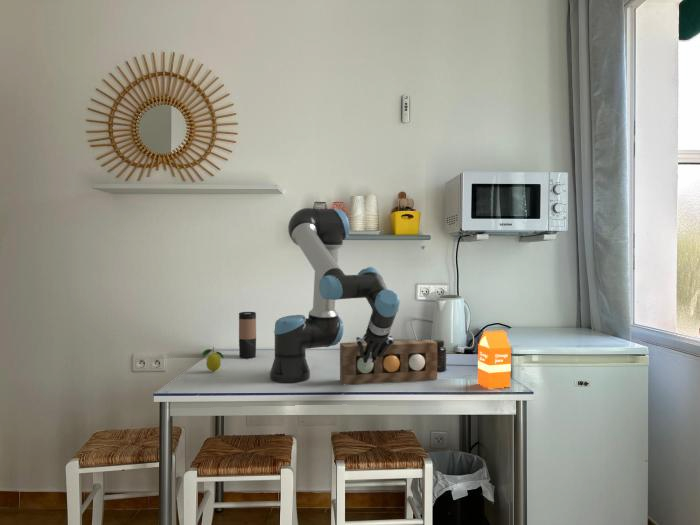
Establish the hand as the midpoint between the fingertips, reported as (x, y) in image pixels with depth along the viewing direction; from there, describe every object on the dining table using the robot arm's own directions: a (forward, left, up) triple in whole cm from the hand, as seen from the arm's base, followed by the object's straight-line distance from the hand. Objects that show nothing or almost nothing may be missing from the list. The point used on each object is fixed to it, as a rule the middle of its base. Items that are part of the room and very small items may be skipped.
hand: (366, 365), depth 186 cm
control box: (+10, +5, -7) cm, 13 cm away
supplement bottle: (+34, +16, -7) cm, 38 cm away
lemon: (-55, +31, -7) cm, 63 cm away
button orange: (+10, +3, -3) cm, 11 cm away
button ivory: (+20, +3, -3) cm, 20 cm away
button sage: (0, +3, -3) cm, 4 cm away
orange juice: (+45, -10, -7) cm, 47 cm away
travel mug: (-41, +56, -7) cm, 70 cm away
